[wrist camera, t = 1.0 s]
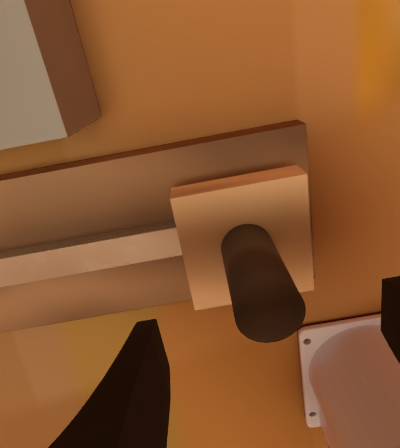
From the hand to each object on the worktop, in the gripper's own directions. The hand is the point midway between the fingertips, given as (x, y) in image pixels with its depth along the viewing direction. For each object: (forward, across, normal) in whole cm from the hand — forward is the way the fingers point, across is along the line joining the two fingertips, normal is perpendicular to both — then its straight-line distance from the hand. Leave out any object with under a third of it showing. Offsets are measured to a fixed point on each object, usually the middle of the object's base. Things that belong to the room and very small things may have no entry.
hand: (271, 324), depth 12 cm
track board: (+10, +7, 0) cm, 12 cm away
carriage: (+8, 0, 0) cm, 9 cm away
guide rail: (+9, +7, 0) cm, 11 cm away
